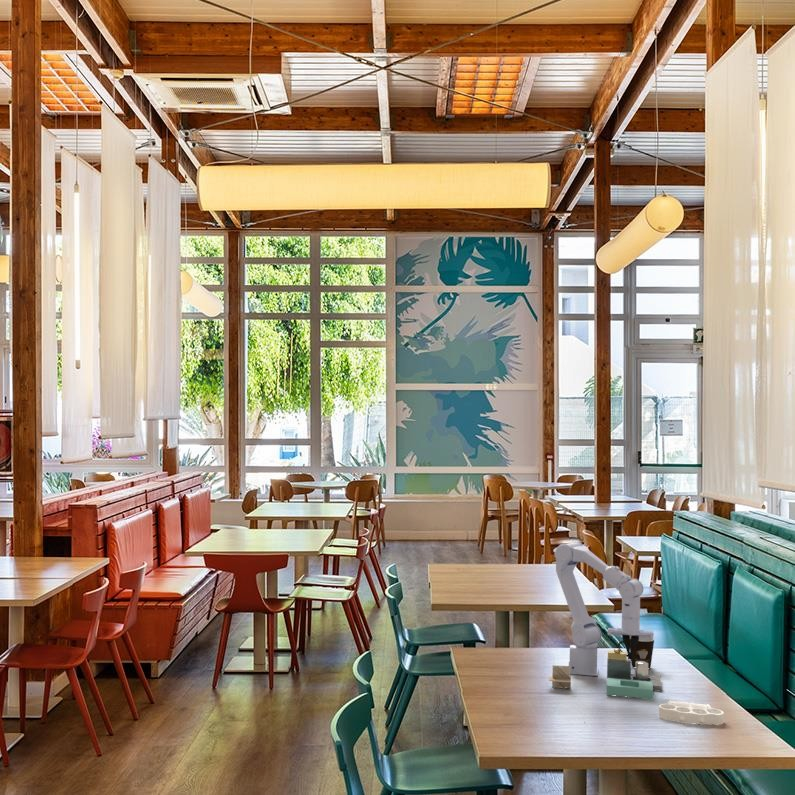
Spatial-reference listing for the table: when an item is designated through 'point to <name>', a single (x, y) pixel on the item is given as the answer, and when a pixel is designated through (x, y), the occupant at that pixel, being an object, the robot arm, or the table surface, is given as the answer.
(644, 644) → the coffee mug
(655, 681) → the socket block
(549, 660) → the table surface
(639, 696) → the holder
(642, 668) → the white upright block
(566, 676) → the architectural model
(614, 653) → the yellow small block
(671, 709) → the white brass knuckles
